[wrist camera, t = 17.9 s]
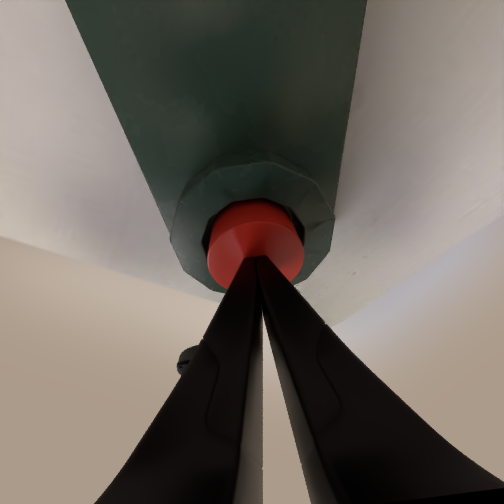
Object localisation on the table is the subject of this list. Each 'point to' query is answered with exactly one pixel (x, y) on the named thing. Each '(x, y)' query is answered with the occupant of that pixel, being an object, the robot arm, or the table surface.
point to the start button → (253, 239)
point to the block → (231, 107)
